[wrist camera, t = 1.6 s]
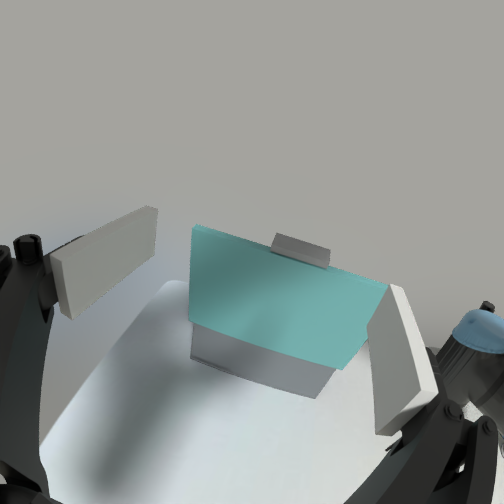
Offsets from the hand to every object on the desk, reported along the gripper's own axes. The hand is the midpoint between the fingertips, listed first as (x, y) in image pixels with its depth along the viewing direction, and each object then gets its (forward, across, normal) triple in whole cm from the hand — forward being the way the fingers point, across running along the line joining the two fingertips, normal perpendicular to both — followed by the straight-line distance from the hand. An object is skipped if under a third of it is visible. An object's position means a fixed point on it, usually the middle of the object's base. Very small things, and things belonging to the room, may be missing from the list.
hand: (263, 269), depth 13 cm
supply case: (+24, +2, -30) cm, 39 cm away
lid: (+17, +2, -12) cm, 21 cm away
